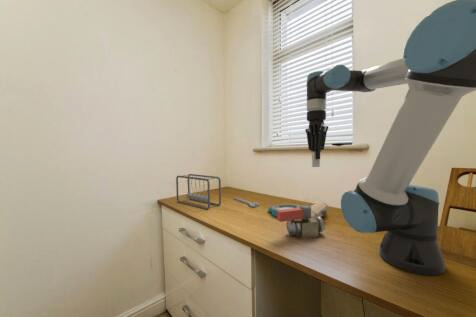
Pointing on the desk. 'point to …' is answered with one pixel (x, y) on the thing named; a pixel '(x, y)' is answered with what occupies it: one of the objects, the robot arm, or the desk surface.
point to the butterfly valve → (316, 209)
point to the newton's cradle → (197, 197)
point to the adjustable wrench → (247, 202)
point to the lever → (294, 213)
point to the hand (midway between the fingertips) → (315, 166)
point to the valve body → (306, 227)
